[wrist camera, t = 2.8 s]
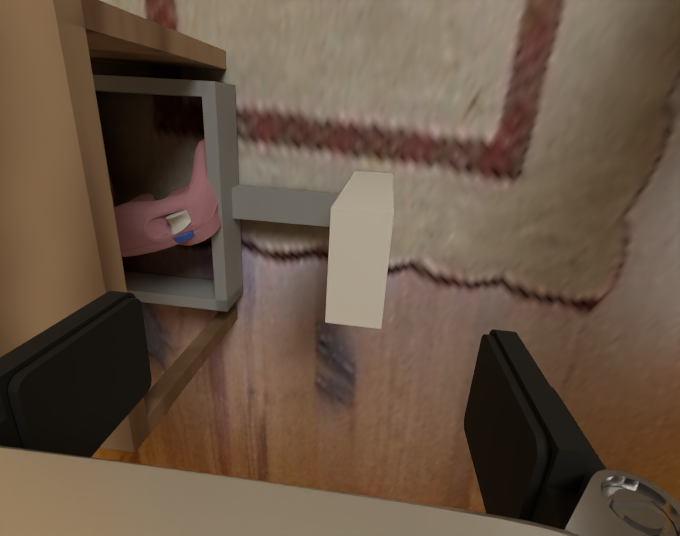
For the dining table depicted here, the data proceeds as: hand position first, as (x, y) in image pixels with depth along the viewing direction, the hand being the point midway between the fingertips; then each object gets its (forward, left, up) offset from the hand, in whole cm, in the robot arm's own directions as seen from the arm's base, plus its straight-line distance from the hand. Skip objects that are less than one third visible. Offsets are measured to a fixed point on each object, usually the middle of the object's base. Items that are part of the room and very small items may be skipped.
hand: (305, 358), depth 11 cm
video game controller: (+13, 0, -17) cm, 22 cm away
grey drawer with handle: (+8, 0, -17) cm, 19 cm away
